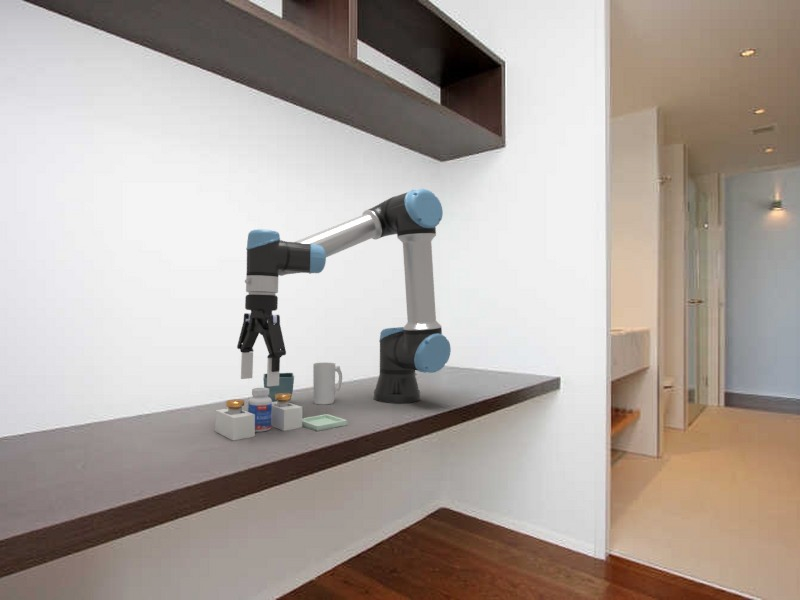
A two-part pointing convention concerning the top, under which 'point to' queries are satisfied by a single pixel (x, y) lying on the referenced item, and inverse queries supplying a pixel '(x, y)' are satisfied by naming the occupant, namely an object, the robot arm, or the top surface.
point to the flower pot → (280, 385)
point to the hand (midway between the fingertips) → (259, 382)
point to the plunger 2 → (283, 399)
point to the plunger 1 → (235, 406)
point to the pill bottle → (261, 408)
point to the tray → (323, 422)
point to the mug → (325, 382)
